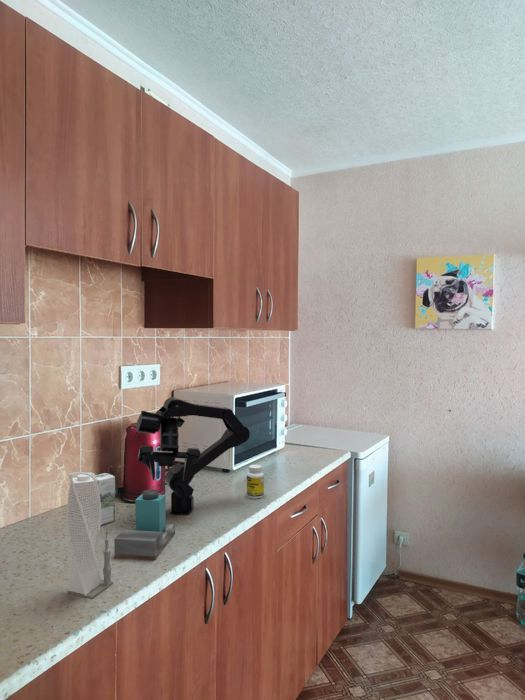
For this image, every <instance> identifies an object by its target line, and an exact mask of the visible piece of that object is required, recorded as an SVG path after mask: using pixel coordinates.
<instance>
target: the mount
mask: <svg viewBox="0 0 525 700" xmlns="http://www.w3.org/2000/svg"><path fill="white" fill-rule="evenodd" d="M175 535H176V523H170V524H169V525H168V527H167V528H166V530H165V532H164V533H163V532H155V531H137V530H136V525H134V526H133V527H132V529H123V530H122V531H121V532H119V534H118V535H117V536H115V538H114V543H113V544H114V558H115V559H131V560H147V561H156V560H157V558H158V557H159V555H160V554H161V553H162V552H163V550H164V549H165V548H166V547H167V545H168V544H169V542H171V539H172V538H173V537H174V536H175Z"/></svg>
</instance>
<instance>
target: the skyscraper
mask: <svg viewBox="0 0 525 700" xmlns="http://www.w3.org/2000/svg"><path fill="white" fill-rule="evenodd" d="M95 475H96V474H95V473H94V472H91V471H90V472H88V471H87V472H86V471H74V472H71V473H69V474H68V478H69V480H70V481H69V482H70V483H69V487H68V495H67V502H66V503H67V504H66V531H67V538H68V546H69V550H70V553H71V558H72V562H71V569H70V575H69V580H68V586H67V593H68V594H71V595H76V596H80V597H84V598H88V599H91V600H92V599H94V598H96V597H97V596H98V595H100V594H101V593H103V592H104V591H105V590H106V589H108V588H109V587H111V586H113V584H114V582H113V581H112V580H111V575H112V567H111V548H109V537H108V531H105V538H104V543H105V545H104V546H105V547H104V549H103V561H104V563H103V568H102V572H103V579H102V578H101V573H100V568H99V566H98V560H97V557H96V550H97V546H98V542H99V537H100V531H101V526H102V525H101V501H100V494H99V489H98V484H97V480H96V479H95Z"/></svg>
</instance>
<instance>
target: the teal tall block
mask: <svg viewBox="0 0 525 700" xmlns="http://www.w3.org/2000/svg"><path fill="white" fill-rule="evenodd" d="M134 502H135V503H134V506H135V511H134V512H135V526H136V530H137V531H155V532H163V533H164V532H165V530H166V529H167V528H166V524H167V523H166V494H159V490H158V489H154V488H153V489H152V488H151V489H150V488H149V489H146V490H143V491H142V494H140V495H139V496H138V497H136V499H135V501H134Z"/></svg>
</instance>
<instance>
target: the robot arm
mask: <svg viewBox="0 0 525 700" xmlns="http://www.w3.org/2000/svg"><path fill="white" fill-rule="evenodd" d="M189 416H195V417H203V418H209V419H210V418H212V419H218V420H219V419H220V420H222V422H223V424H224V427H225V428H226V430H224V432H223V434H222V436H221V437H220V438H219V439H218V440H217V441H215V442H214V443H213V444H211V445H210V446H209V447H207V448H206V449H204V450H203V451H202V452H201V450H200V449H199V448H196V447H194V448H193V447H188V448H187V449H186V451H179V449H180V446H179V435H180V434H179V428H182V426H183V425H184V423H185V422H186V421H185V420H184V419H183V417H189ZM181 417H182V418H181ZM135 431H136V432H137V433H143V434H144V433H145V434H149V435H150V434H151V435H155V434H156V433H159V431H160V433H159V434H160V437H159V438H160V440H159V441H160V442H159V443H160V444H159V445H160V446H159V448H158V449H157V450H155V449H154V446H152V445H141V446H140V447H139V449H138V454H137V461H138V462H139V463H140V462H141V464H144V465H145V466H147V468H148V471H149V474H150V476H151V479H152V481H155V479H156V469H155V467H156V466H155V463H158V464H157V465H158V467H169V468H168V471H167V473H166V474H165V478H164V482H165V485H167V486H168V487H169V489H171V491H172V492H171V493H170V495H171V496H170V497H171V498H170V503H171V504H170V507H171V510H170V511H169V515H187V516H188V515H190V514H191V513H192V511H193V509H194V507H195V506H194V504H195V503H194V501H195V500H194V498H195V497H194V496H193V494H194V487H192V485H190V483H191V482H192V480H193V479H194V478H195V475H197V474H198V473H199V472H201V471H202V470H204V468H206V467H207V466H208V465H210V464H211V463H212V462H214V461H215V460H216V459H218V458H219V457H220V456H222V455H223V454H225V453H226V452H227V451H228V450H230V449H232V448H236V447H239V446H240V445H243V444H244V443H247V442H248V440H249V439H250V435H251V434H250V429H248V427H247V426H244V425H243V423H242V422H241V421H240V419H238V417H237V416H236V415H235V413H234V411H233V410H232V409H231V408H229V407H225V406H224V407H222V406H221V407H220V406H215V405H214V406H212V405H205V404H199V403H191V402H189V401H185V400H183V399H180V398H177V397H174V396H171V397H168V398H167V399H165V401H164V403H163V405H162V406H161V407H160V408H159V409H158V410H157V411H155V412H151V411H146V410H141V411H140V414H139V416H138V418H137V421H136V427H135ZM175 459H184V463H183V464H182V463H180V462H177V463H176V464H174V461H175ZM173 465H174V466H173Z"/></svg>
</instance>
